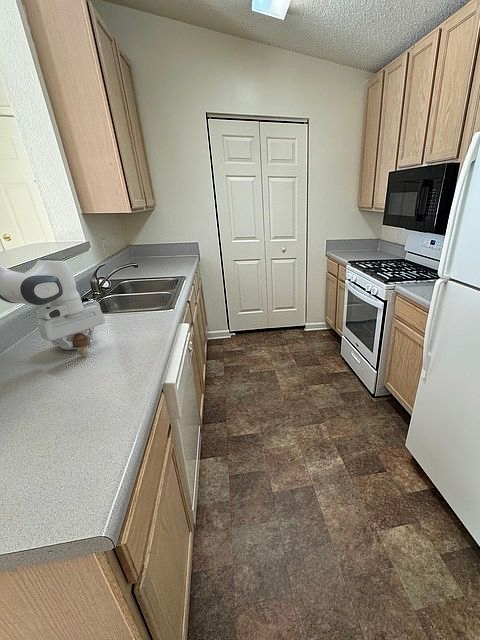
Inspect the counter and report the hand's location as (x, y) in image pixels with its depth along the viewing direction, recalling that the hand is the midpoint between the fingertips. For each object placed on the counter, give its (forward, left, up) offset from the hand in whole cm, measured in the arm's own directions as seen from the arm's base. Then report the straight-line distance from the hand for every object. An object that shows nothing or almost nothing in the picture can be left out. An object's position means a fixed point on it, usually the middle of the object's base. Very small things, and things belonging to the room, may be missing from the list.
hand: (80, 343), depth 120 cm
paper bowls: (+4, +13, -5) cm, 15 cm away
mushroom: (0, 0, -4) cm, 4 cm away
